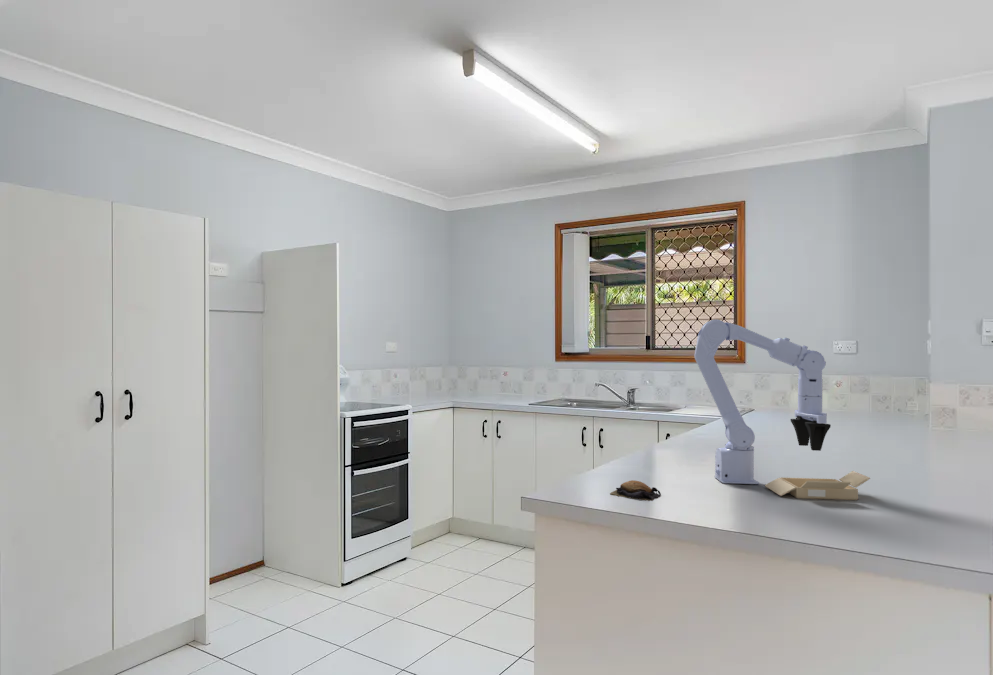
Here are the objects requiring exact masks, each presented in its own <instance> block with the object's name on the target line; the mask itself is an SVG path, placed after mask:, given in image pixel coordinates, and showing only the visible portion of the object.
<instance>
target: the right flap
mask: <svg viewBox="0 0 993 675" xmlns="http://www.w3.org/2000/svg"><path fill="white" fill-rule="evenodd" d="M869 480H871V478H870V476H866V475H864V474H862V473H859V472H856V471H854V470H852V471H849V473H847V474H845V475H844V476H842V477H841V478H839V479H838V481H843V482H851V483H850V484H849V485H850V486H852V487H854V488H858V487H859V486H862V484H864V483H866V482H867V481H869Z"/></svg>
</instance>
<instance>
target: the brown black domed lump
mask: <svg viewBox="0 0 993 675" xmlns="http://www.w3.org/2000/svg"><path fill="white" fill-rule="evenodd" d="M615 489H616V490H613V491H612V492H610V493H609V495H610V496H616V497H621V498H622V497H623V498H627V499H632V500H633V499H635V500H640V501H641V500H642V501H650V502H652V501H654V500H656V499H658V498H660V497H661V495H662V493H661V492H660V490H659V489H658V488H656V487H652V488H651V487H650V486H649V485H648V484H646V483H645V482H642V481H640V480H639V481H638V480H628V481H625V482H622V483H621V484H620V486H619V487H616V488H615Z"/></svg>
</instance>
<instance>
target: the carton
mask: <svg viewBox="0 0 993 675" xmlns="http://www.w3.org/2000/svg"><path fill="white" fill-rule="evenodd" d="M807 480H809V481H839V479H836V478H813V477H810V478H809V477H777V478H776V479H774V480H772V481H770V482H768V483H765V484H764V487H765V488H767V489H769V490H770V491H772V492H773V493H774V494H777V495H779V496H780V497H782V496H784V495H786V494H789V495H791V496H792V497H794V498H795V499H804V500H805V499H807V500H839V501H840V500H841V501H842V500H843V501H858V500H859V489H858V488H857V487H853V486H851V485H848V486H847V487H846V488H844V489H827V488H801V486H802V485H803V484H804V483H805V482H806V481H807Z"/></svg>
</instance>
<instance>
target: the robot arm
mask: <svg viewBox="0 0 993 675" xmlns="http://www.w3.org/2000/svg"><path fill="white" fill-rule="evenodd" d="M696 339H697V340H696V345H695V350H694V356H693V357H694V360H695V362H696V364H697V366H698V368H699V370H700V373H701V375H702V377H703V380H704V381H705V383H706V386H707V388H708V390H709V393H710V394H711V396H712V399H713V401H714V402H715V405H716V407H717V409H718V412H719V414H720V416H721V419H722V422H723V424H724V427H725V437H726V438H727V440H728V441H727V442H726V444H724V447H717V448H716V450H715V458H714V460H715V461H714V463H715V465H714V466H715V467H714V469H715V470H714V478H715V479H716V480H718V481H719V482H720V483H722V484H739V485H742V484H744V485H760V482H759V481H757V480H756V479H755V478H754V477H755V476H754V475H755V472H754V471H755V470H754V469H755V467H754V465H755V449H754V448H755V446H752V445H753V444H754V443H755V439H756V438H755V437H756V436H755V432H754V430H753V429H752V428H751V427H750V426H748V425H747V424H746V422H745V420H744V418H743V416H742V415H741V413H740V411H739V409H738V406H737V404H736V403H735V400H734V399H733V395H732V394H731V392H730V390H729V387H728V385H727V383H726V381H725V378H724V377H723V375H722V373H721V370H720V368H719V366H718V364H717V362H716V360H715V355H716V353H717V351H718V349H719V347H720V346H721V344H722V343H724V341H735V340H736V341H741V342H743V343H746V344H750V345H752V346H755V347H757V348H758V349H759V348H760V349H762V350H765V351H767V353H768V354H769V357H770V358H771V359H774V360H777V361H778V362H782V363H784V364H787V365H789V366H791V367H796V368H797V369H798V378H797V409H794V418H790V423H791V424H792V426H793V428H794V431H795V434H796V438H797V439H796V440H797V442H798V445H799V446H803V447H804V446H810V449H811V451H816V452H817V451H818V452H819V451H822V448H823V445H824V440H825V437H826V435H827V433H828V431H829V430H830V428H831V424H830V423H828V422H827V419H828V418H827V417H828V416H827V413H826V412H823V370H824V369H825V366H826V363H827V362H826V360H825V357H824V355H823V354H822V353H821V352H819V351H817V350H811V349H808V347H809V346H807V345H804V344H803V345H800V344H797V343H795V342H793V341H790V338H788V337H783V338H782V337H778V338H775V339H771V338H769V337H767V336H764V335H762V334H760V333H757V332H755V331H753V330H750V329H748V328H746V327H743V326H741V325H738V324H735V323H731V322H728V321H727V322H724V321H723V320H720V319H711V320H709V321H706V322H705V323H704V324H703V325H702V326H701V329H700V330H699V332H698V334H697V338H696Z"/></svg>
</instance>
